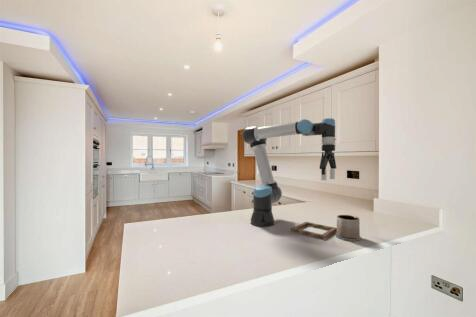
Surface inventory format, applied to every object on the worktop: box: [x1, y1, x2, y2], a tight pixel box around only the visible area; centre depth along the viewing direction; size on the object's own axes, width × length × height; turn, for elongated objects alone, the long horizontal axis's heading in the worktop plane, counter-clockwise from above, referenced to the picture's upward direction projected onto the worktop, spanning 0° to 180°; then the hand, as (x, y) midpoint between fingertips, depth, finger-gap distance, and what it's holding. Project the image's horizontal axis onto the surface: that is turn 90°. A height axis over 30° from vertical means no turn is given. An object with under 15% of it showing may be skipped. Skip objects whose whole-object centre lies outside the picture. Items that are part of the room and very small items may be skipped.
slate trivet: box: [335, 232, 362, 242], centre depth 116 cm, size 12×12×1 cm
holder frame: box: [290, 221, 337, 241], centre depth 126 cm, size 19×19×2 cm
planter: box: [336, 214, 361, 239], centre depth 116 cm, size 11×11×10 cm
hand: (328, 179), depth 133 cm, fingers open, 13 cm apart
